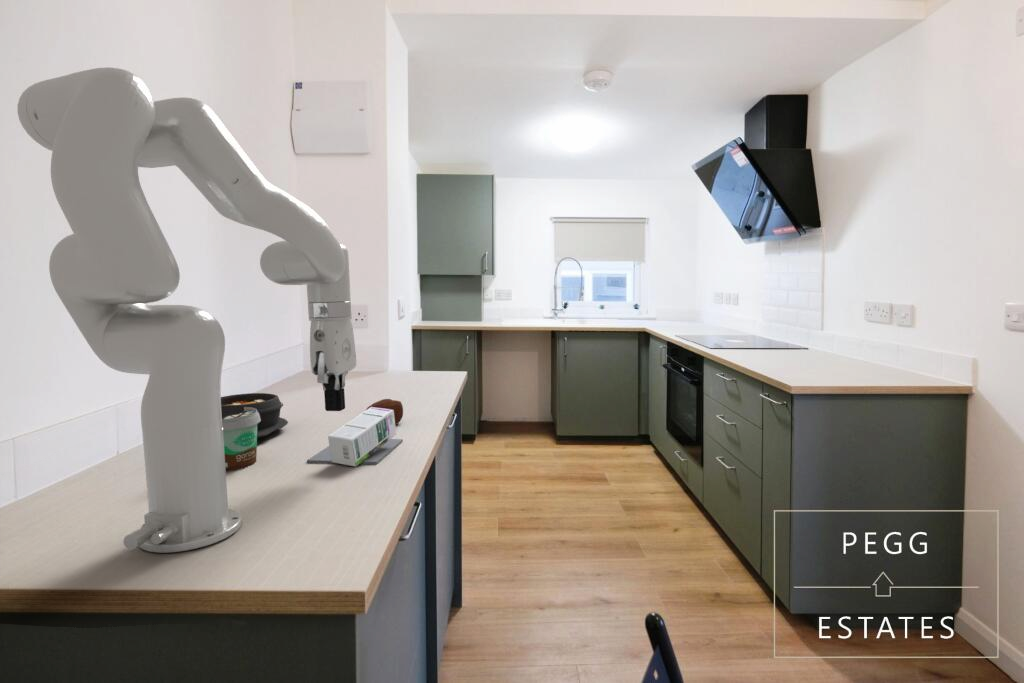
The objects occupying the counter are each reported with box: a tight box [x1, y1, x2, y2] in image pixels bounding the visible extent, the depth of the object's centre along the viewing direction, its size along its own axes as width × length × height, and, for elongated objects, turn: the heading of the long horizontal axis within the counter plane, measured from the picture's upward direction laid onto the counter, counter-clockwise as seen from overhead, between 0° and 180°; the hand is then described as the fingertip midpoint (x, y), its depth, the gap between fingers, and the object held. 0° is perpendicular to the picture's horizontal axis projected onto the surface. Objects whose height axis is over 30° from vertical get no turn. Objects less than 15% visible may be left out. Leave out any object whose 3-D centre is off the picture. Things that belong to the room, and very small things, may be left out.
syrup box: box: [327, 407, 397, 467], centre depth 115 cm, size 6×6×14 cm
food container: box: [222, 407, 261, 472], centre depth 111 cm, size 12×6×10 cm, turn 168°
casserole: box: [221, 392, 289, 439], centre depth 135 cm, size 25×19×8 cm
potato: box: [365, 398, 404, 425], centre depth 141 cm, size 7×9×6 cm
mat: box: [306, 438, 404, 465], centre depth 119 cm, size 16×14×1 cm
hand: (335, 409), depth 108 cm, fingers closed
